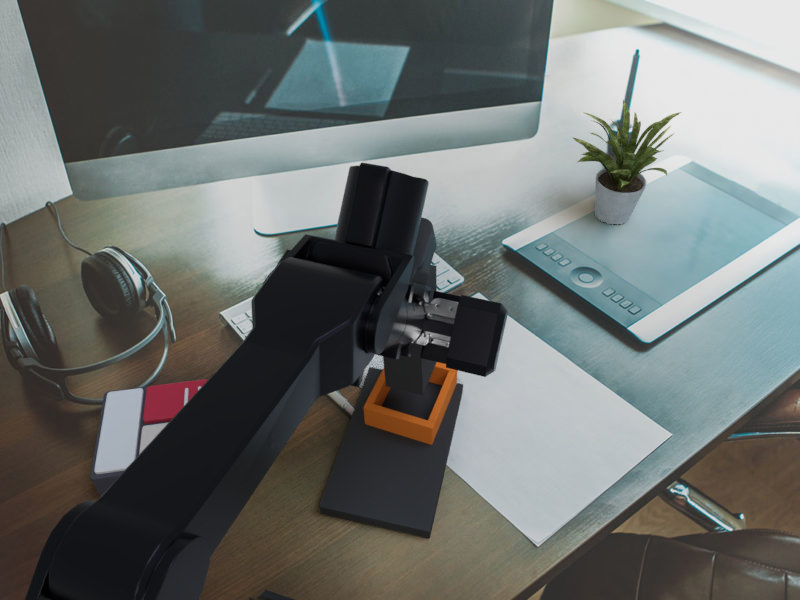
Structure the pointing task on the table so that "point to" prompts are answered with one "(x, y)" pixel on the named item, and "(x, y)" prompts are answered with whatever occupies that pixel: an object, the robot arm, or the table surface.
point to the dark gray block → (412, 360)
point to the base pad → (395, 454)
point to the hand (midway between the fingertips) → (414, 318)
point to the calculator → (134, 425)
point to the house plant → (623, 167)
